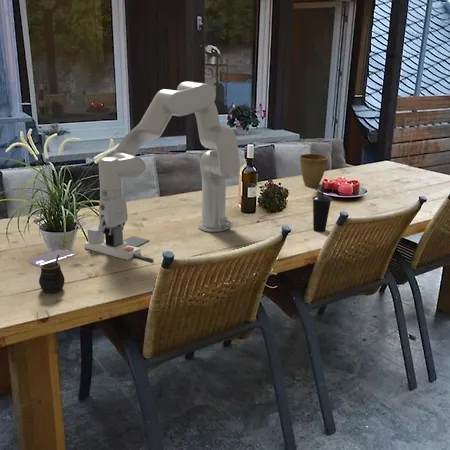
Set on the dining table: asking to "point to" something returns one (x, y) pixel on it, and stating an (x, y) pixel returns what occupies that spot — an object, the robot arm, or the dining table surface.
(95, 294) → the dining table surface
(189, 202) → the dining table surface
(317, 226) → the drinking cup
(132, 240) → the mat
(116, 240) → the block
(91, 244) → the power strip
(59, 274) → the mate gourd
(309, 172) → the plant pot
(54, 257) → the mobile phone
